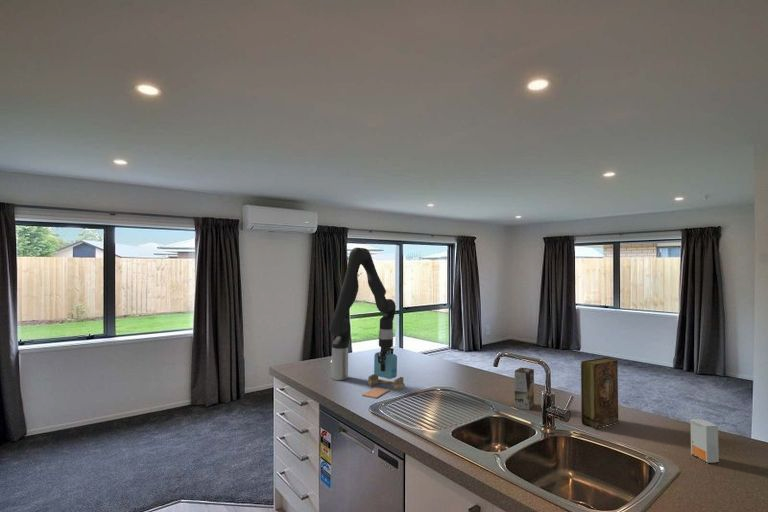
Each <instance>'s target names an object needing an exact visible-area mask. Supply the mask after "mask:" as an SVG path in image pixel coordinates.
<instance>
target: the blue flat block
mask: <svg viewBox="0 0 768 512" xmlns="http://www.w3.org/2000/svg"><path fill="white" fill-rule="evenodd" d="M377 353H378V352H375V353H374V359H373V360H374V363H373V365H374V366H373V374H375V375H376V376H378V377H380V378H384V379H388V380H391V379H395V378H396V377H397V376H398V356H397V355H396V354H395V353H393V354H391V353H390V354H389V353H388V354H387V355H385V356H386V360H385V371H384V372H383V371H381V364H380V363H378V355H377ZM383 358H385V357H383ZM383 361H384V359H383Z"/></svg>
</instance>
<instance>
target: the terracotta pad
mask: <svg viewBox="0 0 768 512" xmlns="http://www.w3.org/2000/svg"><path fill="white" fill-rule="evenodd" d="M386 392H387V393H388V392H390V389H387V388H382V387H378V386H377V387H374V388H372V389H370V390H368V391H366V392H364V393H362V394H361V396H362V397H365V398H366V397H367V398H370V399H378V398H379V397H381V395H382V396H383V395H385V394H387V393H386Z"/></svg>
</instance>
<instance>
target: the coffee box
mask: <svg viewBox="0 0 768 512" xmlns="http://www.w3.org/2000/svg"><path fill="white" fill-rule="evenodd" d="M534 405H535V369H534V368H528V367H519V368H517V369H515V370H514V408H517V409H523V410H528V411H529V410H530V409H531V408H532V407H533V406H534Z"/></svg>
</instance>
